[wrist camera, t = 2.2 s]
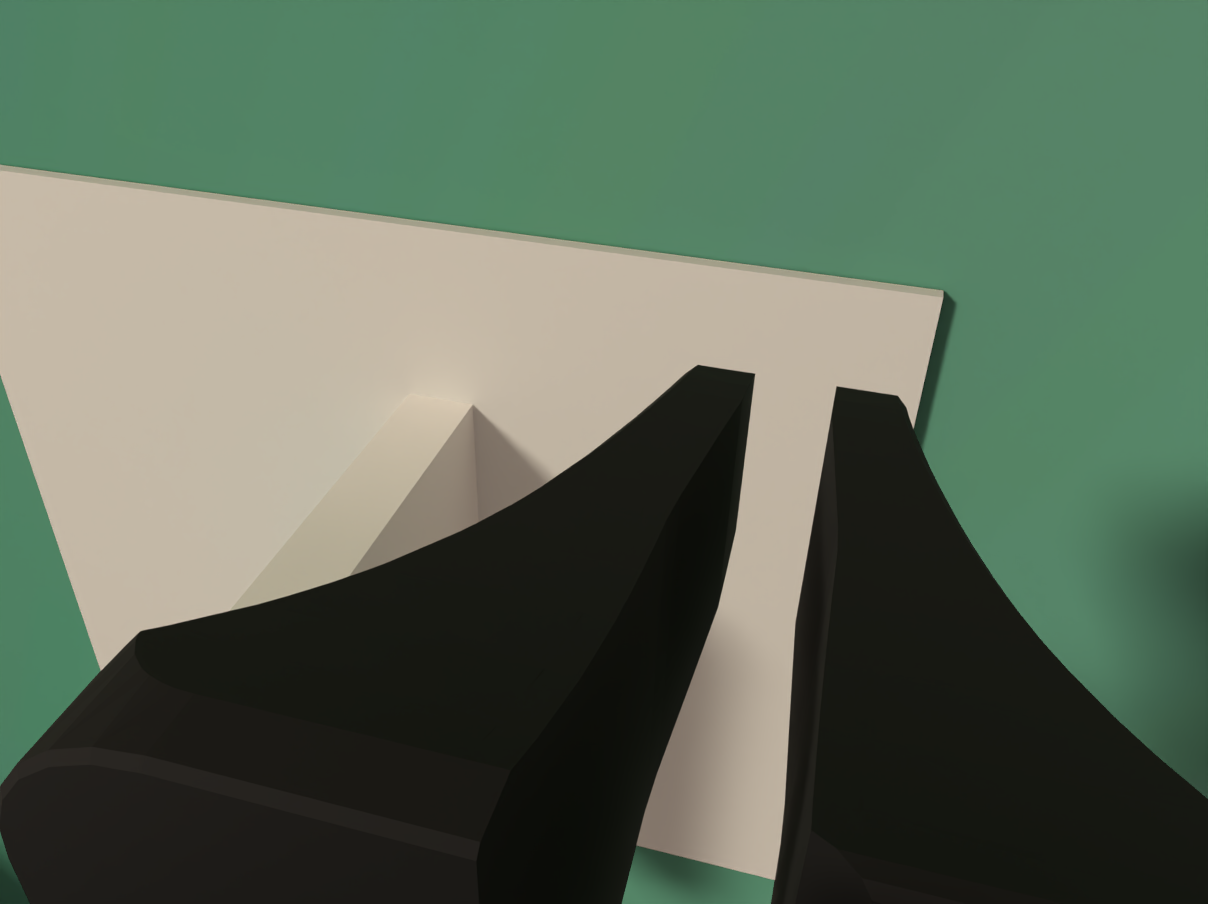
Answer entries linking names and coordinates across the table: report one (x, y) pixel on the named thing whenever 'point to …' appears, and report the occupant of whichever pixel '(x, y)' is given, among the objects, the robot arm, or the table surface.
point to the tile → (383, 501)
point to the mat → (427, 368)
